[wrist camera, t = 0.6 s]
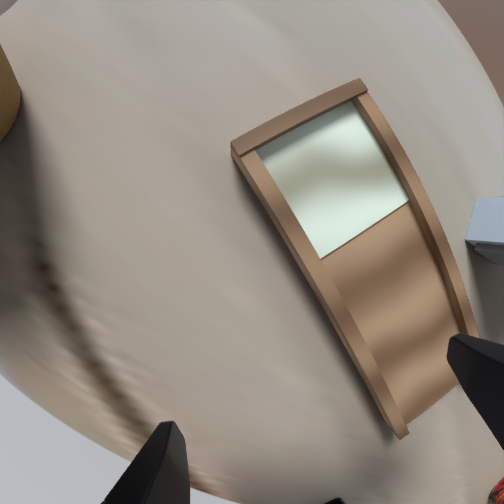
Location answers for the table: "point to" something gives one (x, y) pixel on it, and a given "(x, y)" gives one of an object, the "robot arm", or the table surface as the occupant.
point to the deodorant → (498, 493)
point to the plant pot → (7, 95)
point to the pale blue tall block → (488, 228)
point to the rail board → (364, 243)
